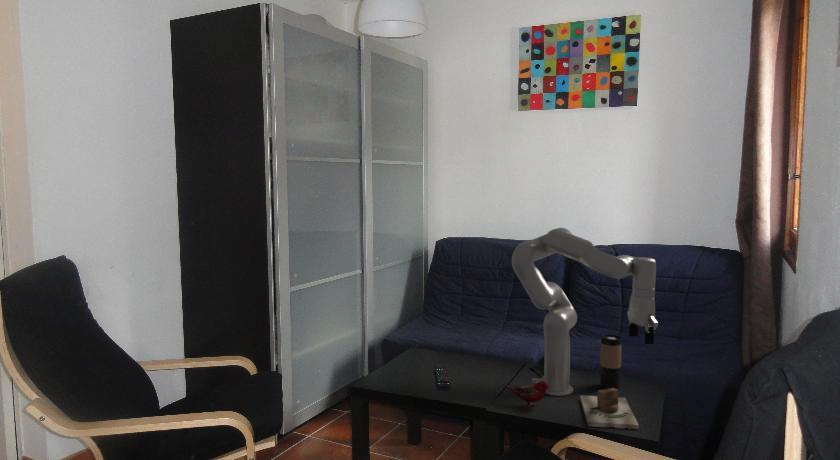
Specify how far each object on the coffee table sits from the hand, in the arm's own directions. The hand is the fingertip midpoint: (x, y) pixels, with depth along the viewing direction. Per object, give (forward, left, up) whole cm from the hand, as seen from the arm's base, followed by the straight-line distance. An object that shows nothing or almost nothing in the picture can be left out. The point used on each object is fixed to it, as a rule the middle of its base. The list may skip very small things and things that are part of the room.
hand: (641, 339), depth 211 cm
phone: (-31, +32, -25) cm, 51 cm away
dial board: (-12, -8, -24) cm, 29 cm away
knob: (-14, -9, -23) cm, 28 cm away
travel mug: (-7, +19, -25) cm, 32 cm away
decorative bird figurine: (-40, -5, -25) cm, 47 cm away
